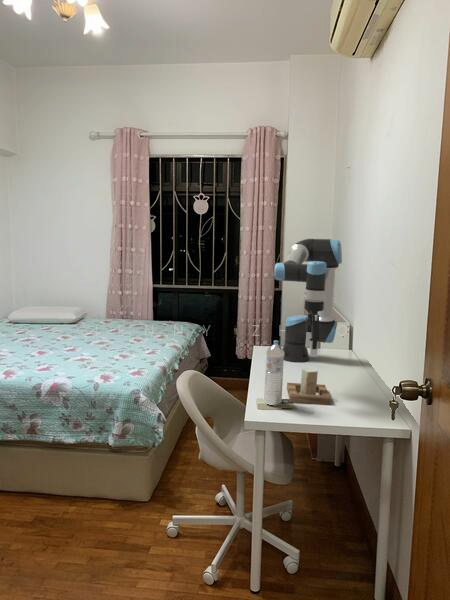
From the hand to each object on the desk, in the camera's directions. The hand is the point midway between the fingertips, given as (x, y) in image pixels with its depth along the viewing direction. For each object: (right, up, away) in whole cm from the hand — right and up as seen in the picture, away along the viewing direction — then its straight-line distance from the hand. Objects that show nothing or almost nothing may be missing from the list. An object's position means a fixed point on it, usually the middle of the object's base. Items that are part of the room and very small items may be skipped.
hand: (311, 351), depth 174 cm
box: (-1, -19, +3) cm, 19 cm away
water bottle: (-16, -19, -7) cm, 26 cm away
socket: (-1, -18, +2) cm, 19 cm away
